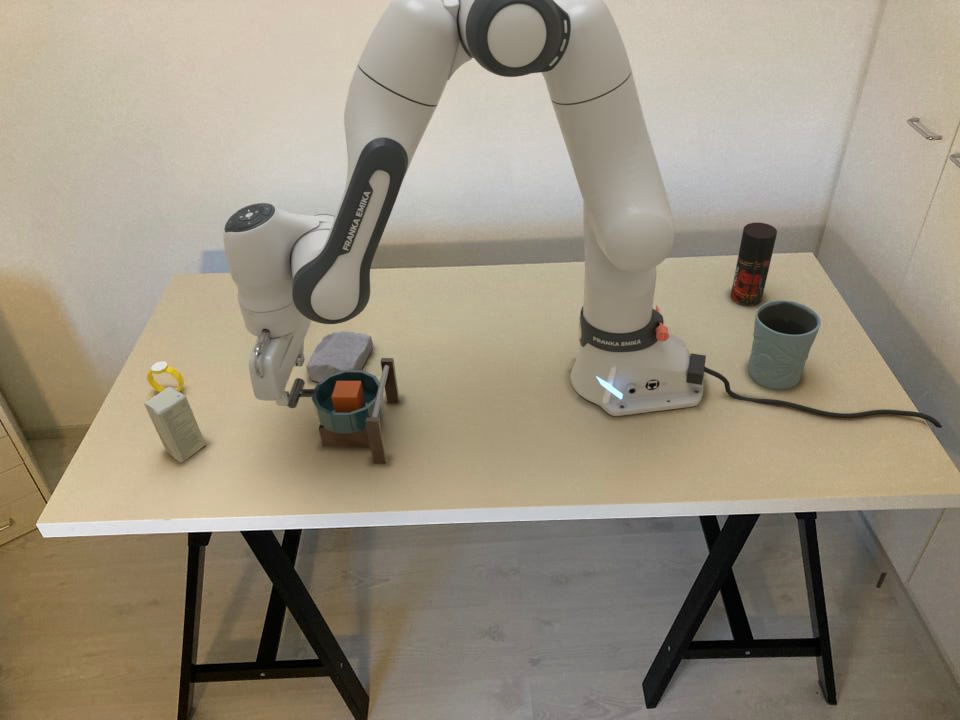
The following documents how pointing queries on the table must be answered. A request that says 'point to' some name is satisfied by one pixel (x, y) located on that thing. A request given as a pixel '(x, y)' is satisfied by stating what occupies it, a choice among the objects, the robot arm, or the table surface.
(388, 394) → the stand
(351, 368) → the stone block
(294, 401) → the bowl
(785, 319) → the grey green cup
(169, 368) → the watch
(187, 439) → the box
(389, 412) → the table surface
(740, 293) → the deodorant
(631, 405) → the robot arm
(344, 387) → the block
